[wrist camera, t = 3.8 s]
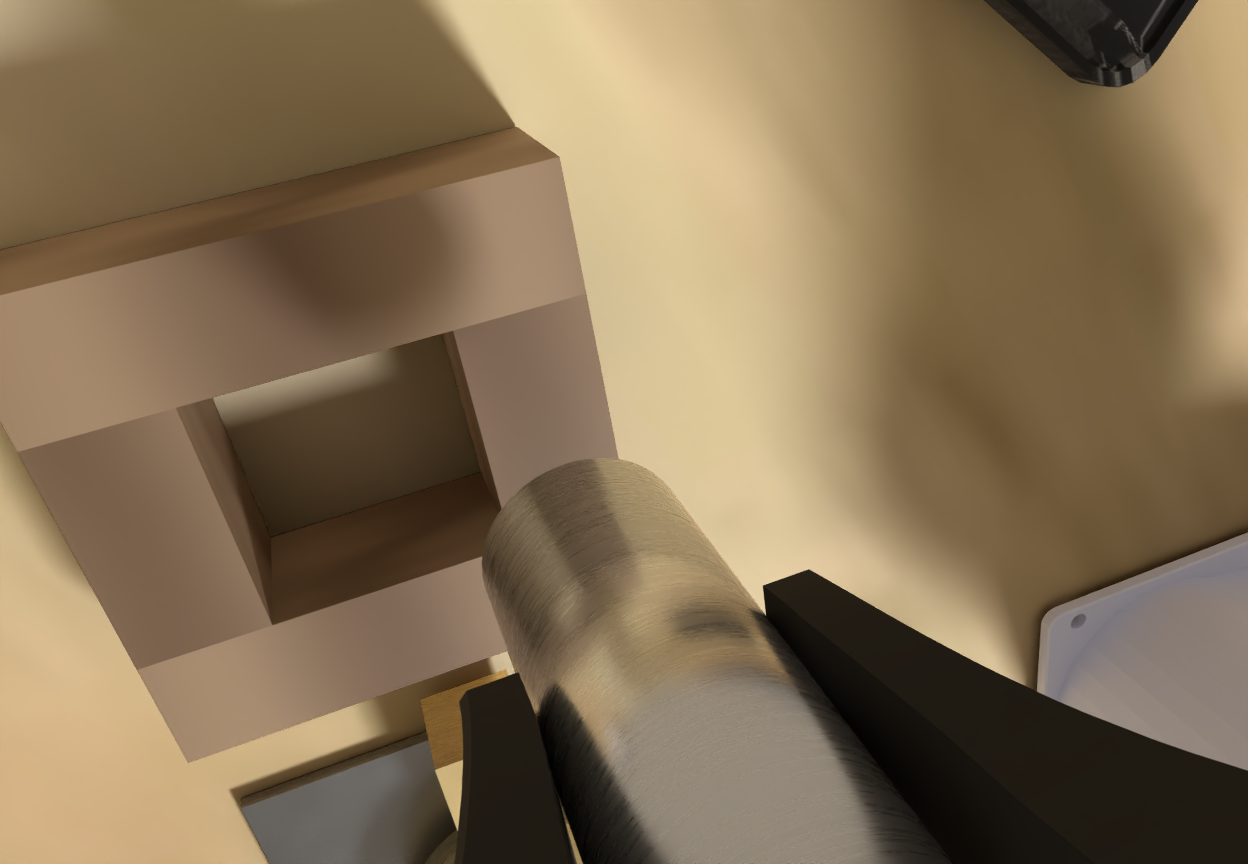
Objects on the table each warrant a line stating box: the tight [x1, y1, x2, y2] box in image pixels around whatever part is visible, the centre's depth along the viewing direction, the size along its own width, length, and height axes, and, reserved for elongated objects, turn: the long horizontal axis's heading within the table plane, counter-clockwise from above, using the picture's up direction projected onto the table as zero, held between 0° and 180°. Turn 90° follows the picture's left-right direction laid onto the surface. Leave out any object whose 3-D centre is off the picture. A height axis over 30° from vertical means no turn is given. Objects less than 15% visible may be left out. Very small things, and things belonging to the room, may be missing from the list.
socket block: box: [0, 127, 618, 763], centre depth 18 cm, size 9×9×3 cm
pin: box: [482, 458, 953, 864], centre depth 11 cm, size 3×3×7 cm
